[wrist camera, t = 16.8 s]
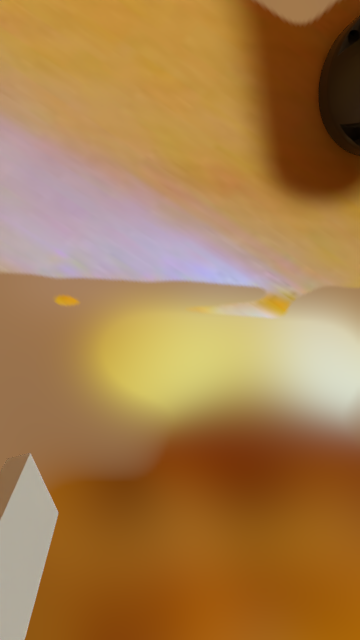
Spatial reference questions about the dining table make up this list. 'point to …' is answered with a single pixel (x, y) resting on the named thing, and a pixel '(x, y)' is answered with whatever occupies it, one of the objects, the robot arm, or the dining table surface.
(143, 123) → the dining table surface
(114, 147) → the dining table surface
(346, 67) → the robot arm
